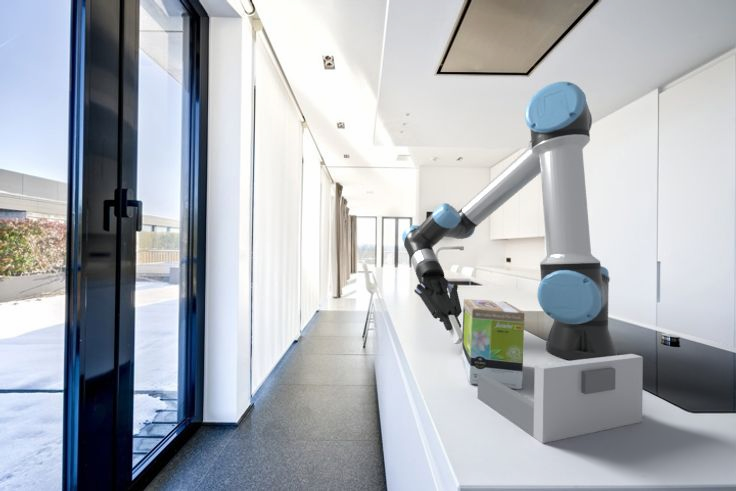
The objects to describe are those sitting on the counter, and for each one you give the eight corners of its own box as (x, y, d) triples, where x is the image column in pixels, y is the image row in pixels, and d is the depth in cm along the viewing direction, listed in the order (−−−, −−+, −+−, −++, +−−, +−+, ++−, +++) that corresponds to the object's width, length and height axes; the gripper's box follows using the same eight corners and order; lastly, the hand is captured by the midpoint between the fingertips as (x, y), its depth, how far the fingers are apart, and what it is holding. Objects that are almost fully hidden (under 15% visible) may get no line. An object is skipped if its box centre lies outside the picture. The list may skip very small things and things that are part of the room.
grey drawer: (563, 385, 61) (563, 334, 62) (646, 423, 48) (647, 358, 48) (477, 398, 55) (478, 340, 55) (546, 446, 42) (547, 370, 42)
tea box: (524, 390, 59) (526, 311, 59) (468, 385, 60) (470, 308, 61) (505, 363, 73) (506, 299, 74) (460, 359, 75) (462, 297, 75)
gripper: (441, 276, 97) (474, 346, 81) (403, 276, 93) (430, 350, 77) (451, 259, 92) (489, 331, 76) (411, 259, 88) (442, 334, 72)
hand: (459, 340), depth 76 cm, fingers closed
